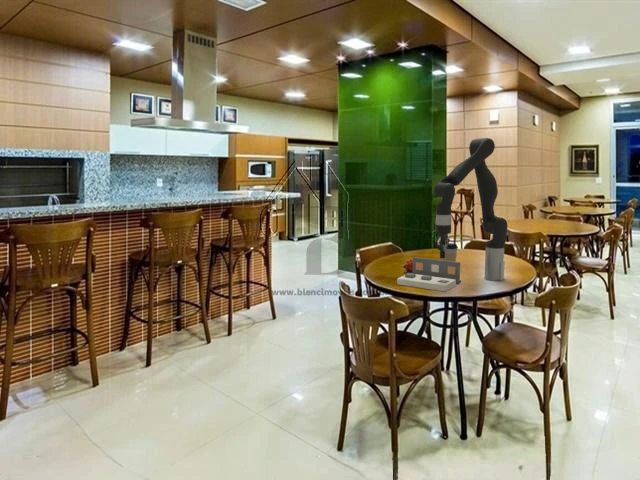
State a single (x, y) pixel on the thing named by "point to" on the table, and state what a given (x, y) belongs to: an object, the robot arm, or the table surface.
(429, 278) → the button middle
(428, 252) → the table surface
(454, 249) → the coffee cup
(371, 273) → the table surface
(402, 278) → the button board
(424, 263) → the pattern sign
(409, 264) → the dragon fruit
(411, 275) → the button far
